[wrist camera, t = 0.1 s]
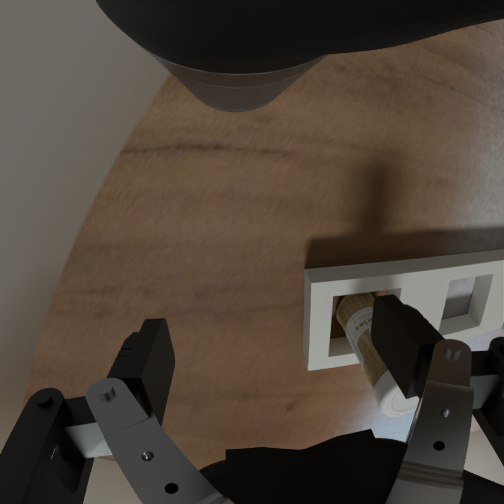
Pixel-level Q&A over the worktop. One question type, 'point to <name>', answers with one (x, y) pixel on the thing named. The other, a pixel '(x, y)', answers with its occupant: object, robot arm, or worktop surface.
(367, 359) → the sprinkles bottle
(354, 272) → the rail
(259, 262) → the worktop surface
